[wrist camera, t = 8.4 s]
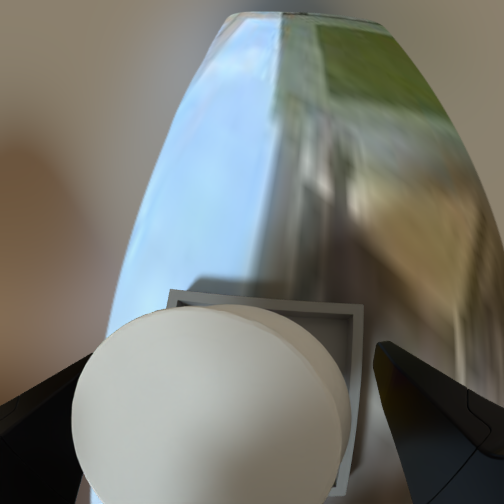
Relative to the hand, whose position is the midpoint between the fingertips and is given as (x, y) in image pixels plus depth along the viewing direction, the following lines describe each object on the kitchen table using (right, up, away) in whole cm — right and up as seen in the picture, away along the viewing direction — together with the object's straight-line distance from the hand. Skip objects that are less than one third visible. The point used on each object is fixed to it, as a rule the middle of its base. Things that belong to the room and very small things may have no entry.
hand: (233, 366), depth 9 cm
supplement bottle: (+1, -5, +7) cm, 8 cm away
